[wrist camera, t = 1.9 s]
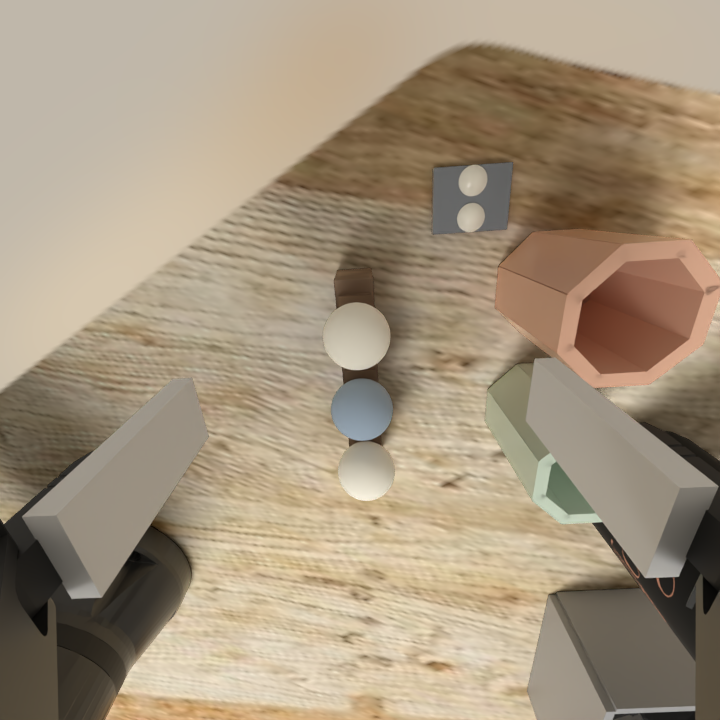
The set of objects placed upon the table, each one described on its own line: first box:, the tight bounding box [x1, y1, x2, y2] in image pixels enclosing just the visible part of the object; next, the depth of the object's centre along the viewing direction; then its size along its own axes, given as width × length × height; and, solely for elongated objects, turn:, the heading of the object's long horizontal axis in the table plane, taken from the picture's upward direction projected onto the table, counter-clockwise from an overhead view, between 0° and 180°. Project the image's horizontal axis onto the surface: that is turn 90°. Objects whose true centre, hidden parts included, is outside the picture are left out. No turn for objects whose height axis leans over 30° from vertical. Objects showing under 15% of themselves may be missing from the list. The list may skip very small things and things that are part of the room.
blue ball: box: [331, 378, 393, 441], centre depth 23 cm, size 4×4×4 cm
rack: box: [334, 268, 381, 447], centre depth 26 cm, size 2×16×5 cm, turn 4°
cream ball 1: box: [323, 302, 391, 370], centre depth 21 cm, size 4×4×4 cm
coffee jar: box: [593, 431, 720, 662], centre depth 24 cm, size 11×11×18 cm
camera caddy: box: [527, 588, 696, 720], centre depth 39 cm, size 16×21×10 cm
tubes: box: [432, 162, 720, 524], centre depth 23 cm, size 12×22×9 cm, turn 4°
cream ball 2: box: [338, 441, 395, 501], centre depth 25 cm, size 4×4×4 cm
